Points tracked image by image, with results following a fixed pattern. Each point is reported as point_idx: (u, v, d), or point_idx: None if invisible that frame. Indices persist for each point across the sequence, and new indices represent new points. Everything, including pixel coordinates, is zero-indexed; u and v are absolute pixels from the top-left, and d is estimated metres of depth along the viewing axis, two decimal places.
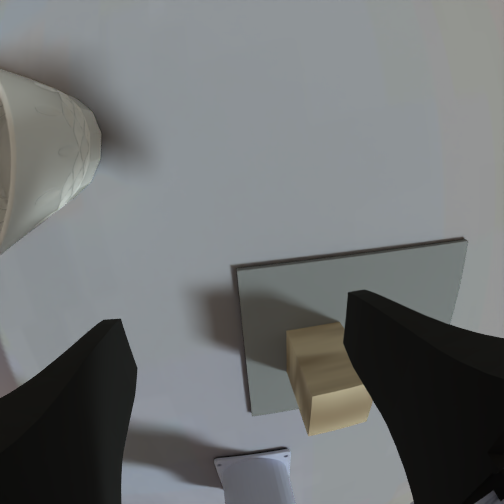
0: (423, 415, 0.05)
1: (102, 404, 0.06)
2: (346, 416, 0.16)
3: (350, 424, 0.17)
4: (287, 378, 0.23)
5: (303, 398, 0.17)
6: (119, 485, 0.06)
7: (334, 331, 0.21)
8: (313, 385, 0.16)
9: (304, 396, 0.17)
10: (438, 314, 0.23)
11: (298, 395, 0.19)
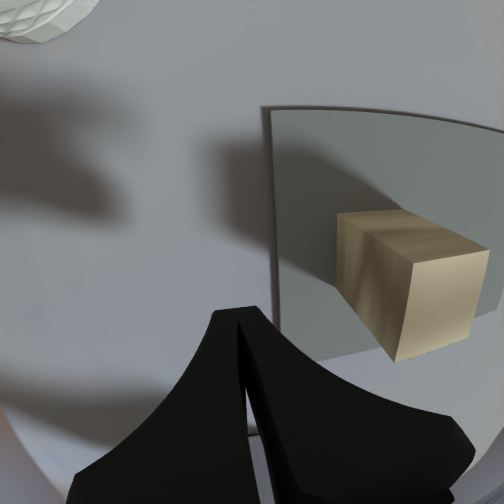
0: (270, 458, 0.05)
1: (243, 397, 0.07)
2: (448, 320, 0.10)
3: (449, 341, 0.10)
4: (335, 299, 0.16)
5: (382, 294, 0.11)
6: None
7: (402, 214, 0.14)
8: (406, 252, 0.09)
9: (386, 287, 0.11)
10: (502, 226, 0.17)
11: (366, 302, 0.12)
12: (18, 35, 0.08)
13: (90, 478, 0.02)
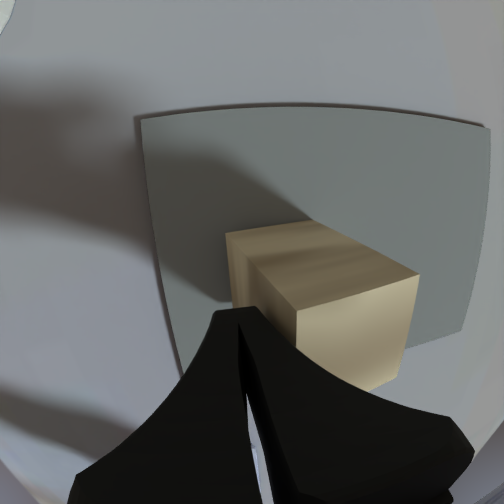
0: (269, 459, 0.05)
1: (244, 397, 0.07)
2: (364, 366, 0.08)
3: (371, 386, 0.09)
4: None
5: None
6: None
7: (308, 228, 0.13)
8: (292, 292, 0.08)
9: None
10: (464, 235, 0.15)
11: None
12: None
13: (91, 477, 0.02)
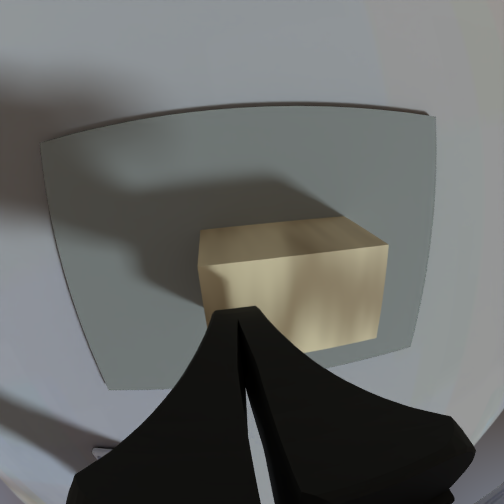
0: (270, 458, 0.05)
1: (243, 397, 0.07)
2: None
3: None
4: (137, 330, 0.14)
5: (344, 300, 0.11)
6: None
7: (225, 232, 0.13)
8: (364, 244, 0.10)
9: (349, 290, 0.11)
10: (402, 242, 0.15)
11: (311, 329, 0.11)
12: None
13: (89, 477, 0.02)
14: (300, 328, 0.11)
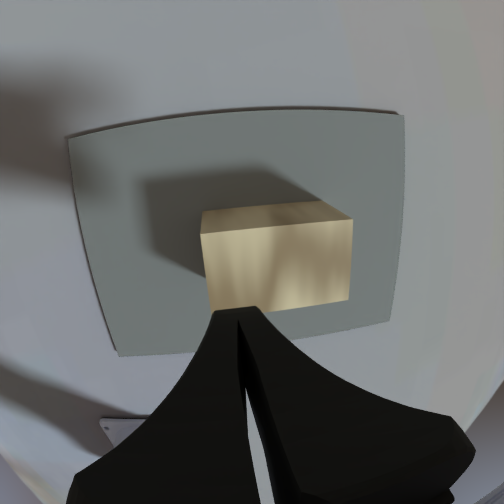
0: (270, 458, 0.05)
1: (243, 397, 0.07)
2: None
3: None
4: (147, 299, 0.17)
5: (317, 264, 0.13)
6: None
7: (222, 212, 0.15)
8: (332, 218, 0.13)
9: (321, 256, 0.13)
10: (375, 224, 0.18)
11: (291, 288, 0.14)
12: None
13: (90, 477, 0.02)
14: (282, 287, 0.14)
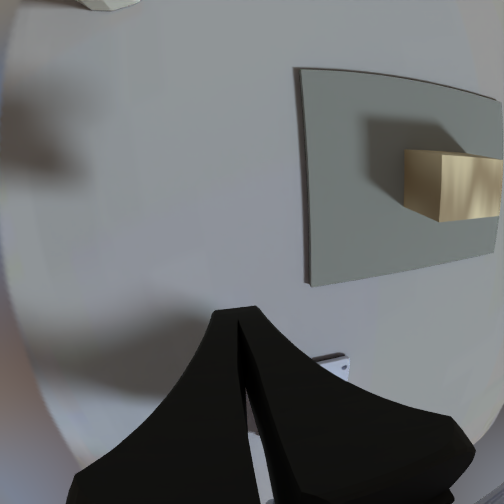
0: (270, 458, 0.05)
1: (243, 397, 0.07)
2: None
3: None
4: (354, 222, 0.19)
5: (489, 187, 0.16)
6: None
7: (422, 150, 0.17)
8: (493, 158, 0.15)
9: (491, 181, 0.15)
10: None
11: (477, 202, 0.16)
12: None
13: (89, 477, 0.02)
14: (474, 200, 0.16)
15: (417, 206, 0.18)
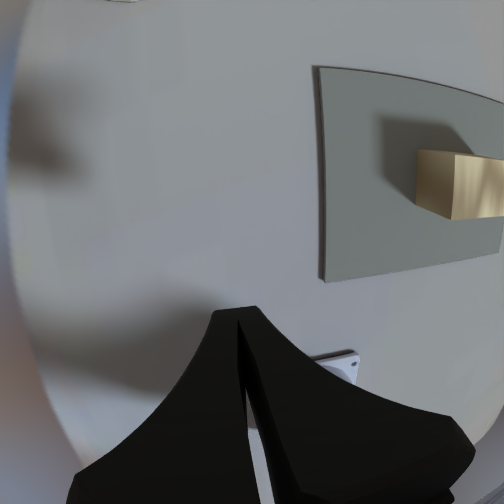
0: (270, 458, 0.05)
1: (243, 397, 0.07)
2: None
3: None
4: (368, 219, 0.20)
5: (497, 187, 0.16)
6: None
7: None
8: (502, 160, 0.15)
9: (499, 182, 0.16)
10: None
11: (486, 202, 0.16)
12: None
13: (90, 477, 0.02)
14: (483, 200, 0.16)
15: (429, 205, 0.18)
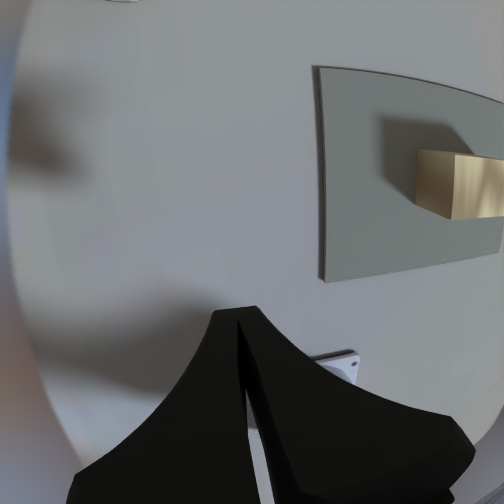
0: (270, 458, 0.05)
1: (243, 397, 0.07)
2: None
3: None
4: (368, 219, 0.20)
5: (497, 187, 0.16)
6: None
7: None
8: (502, 160, 0.15)
9: (499, 182, 0.16)
10: None
11: (486, 202, 0.16)
12: None
13: (90, 477, 0.02)
14: (483, 200, 0.16)
15: (429, 205, 0.18)
